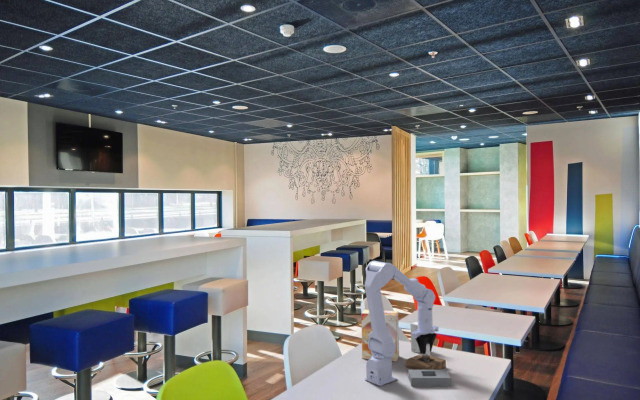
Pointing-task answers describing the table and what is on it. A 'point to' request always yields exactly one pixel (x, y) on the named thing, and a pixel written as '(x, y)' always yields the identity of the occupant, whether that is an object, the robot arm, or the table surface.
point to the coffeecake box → (392, 328)
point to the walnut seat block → (419, 365)
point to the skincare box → (413, 341)
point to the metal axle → (426, 354)
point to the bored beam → (429, 378)
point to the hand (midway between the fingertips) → (425, 352)
